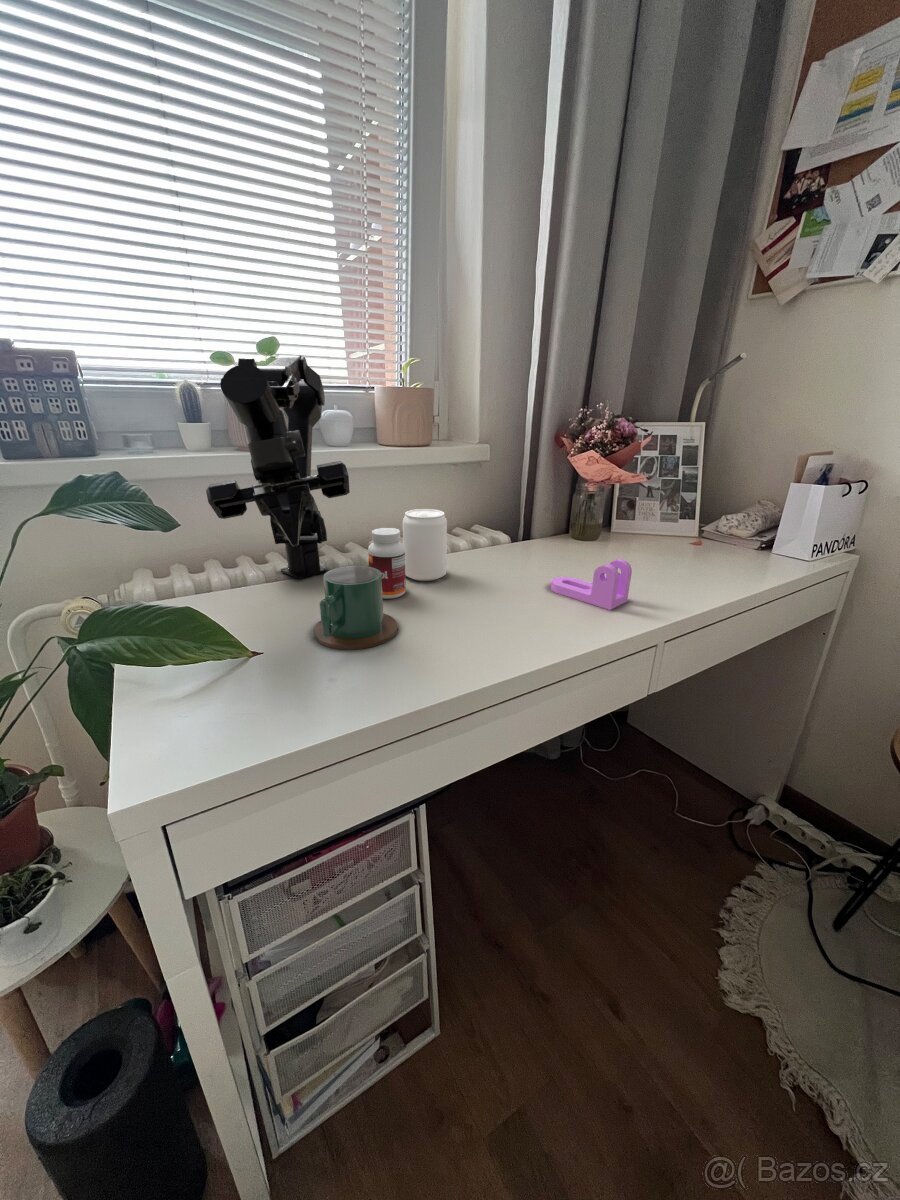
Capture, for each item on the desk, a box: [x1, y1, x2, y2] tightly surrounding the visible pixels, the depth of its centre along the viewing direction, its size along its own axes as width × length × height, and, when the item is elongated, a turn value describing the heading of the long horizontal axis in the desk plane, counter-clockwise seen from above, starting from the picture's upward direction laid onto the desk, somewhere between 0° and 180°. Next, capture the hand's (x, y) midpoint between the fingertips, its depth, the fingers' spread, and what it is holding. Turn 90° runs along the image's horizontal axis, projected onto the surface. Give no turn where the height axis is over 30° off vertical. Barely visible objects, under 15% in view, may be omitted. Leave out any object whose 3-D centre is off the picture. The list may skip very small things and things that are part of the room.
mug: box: [319, 565, 384, 639], centre depth 70 cm, size 12×8×8 cm
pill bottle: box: [367, 527, 407, 600], centre depth 85 cm, size 6×6×11 cm
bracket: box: [550, 558, 633, 611], centre depth 86 cm, size 13×6×7 cm, turn 44°
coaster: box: [313, 612, 399, 651], centre depth 73 cm, size 12×12×1 cm
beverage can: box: [402, 508, 448, 582], centre depth 94 cm, size 8×8×12 cm
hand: (295, 545), depth 69 cm, fingers closed
